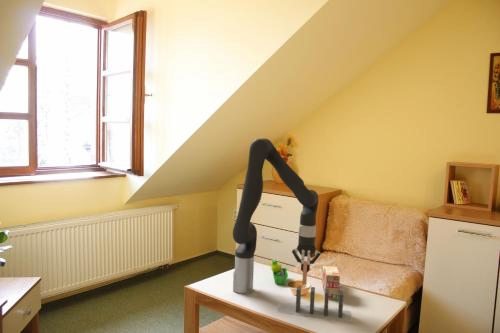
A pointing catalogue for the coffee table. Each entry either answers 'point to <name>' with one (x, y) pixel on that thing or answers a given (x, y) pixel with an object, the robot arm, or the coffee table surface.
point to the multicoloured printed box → (331, 281)
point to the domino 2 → (304, 273)
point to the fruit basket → (279, 272)
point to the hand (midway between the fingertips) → (305, 271)
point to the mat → (317, 312)
